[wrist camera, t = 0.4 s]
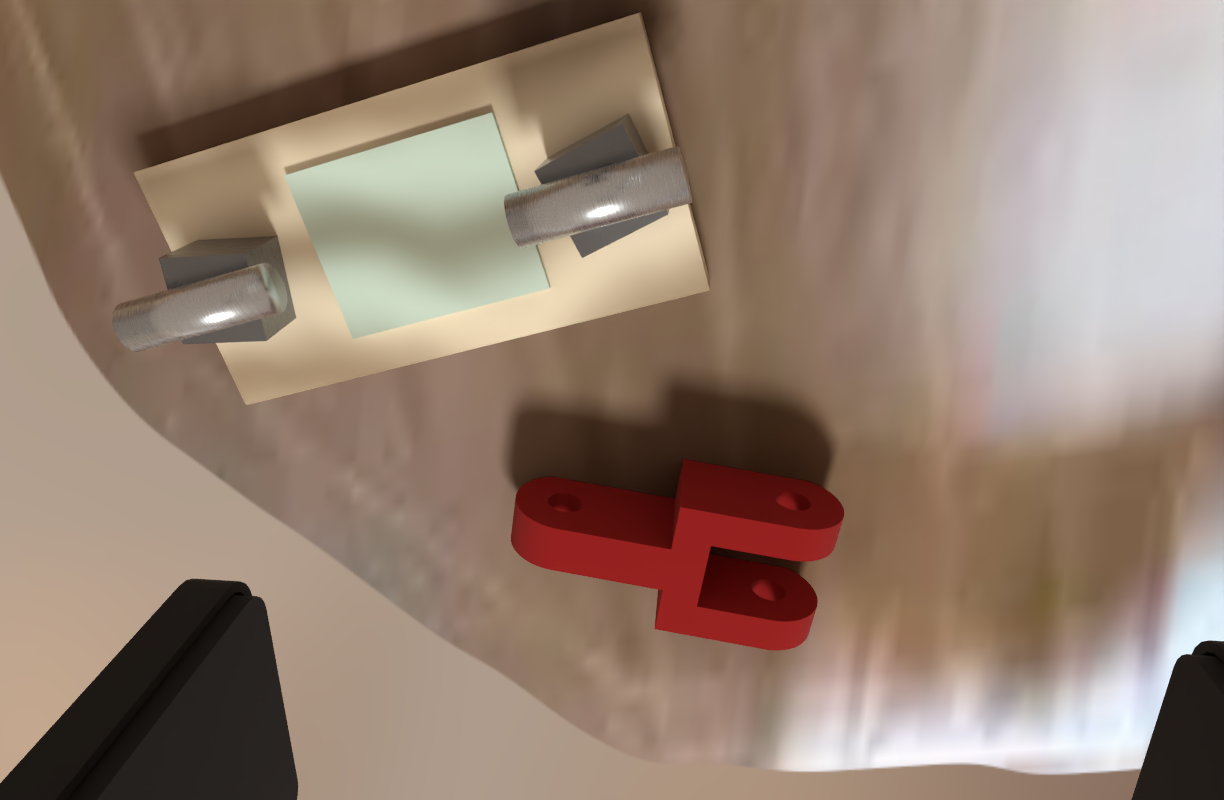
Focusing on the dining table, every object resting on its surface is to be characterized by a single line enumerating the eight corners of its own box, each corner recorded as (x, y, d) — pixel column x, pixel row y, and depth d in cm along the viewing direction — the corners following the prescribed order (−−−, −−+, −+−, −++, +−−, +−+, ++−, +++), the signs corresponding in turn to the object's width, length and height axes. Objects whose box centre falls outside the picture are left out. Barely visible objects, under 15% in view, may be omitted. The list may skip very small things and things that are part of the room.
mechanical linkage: (837, 484, 46) (850, 537, 42) (804, 596, 49) (813, 658, 45) (530, 429, 47) (511, 476, 42) (516, 544, 50) (497, 600, 45)
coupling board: (151, 167, 43) (129, 173, 41) (641, 12, 38) (638, 12, 36) (259, 393, 47) (243, 407, 45) (710, 280, 42) (710, 292, 40)
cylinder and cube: (160, 250, 43) (89, 283, 38) (673, 100, 38) (668, 115, 33) (205, 342, 44) (142, 385, 39) (701, 209, 39) (700, 240, 34)
